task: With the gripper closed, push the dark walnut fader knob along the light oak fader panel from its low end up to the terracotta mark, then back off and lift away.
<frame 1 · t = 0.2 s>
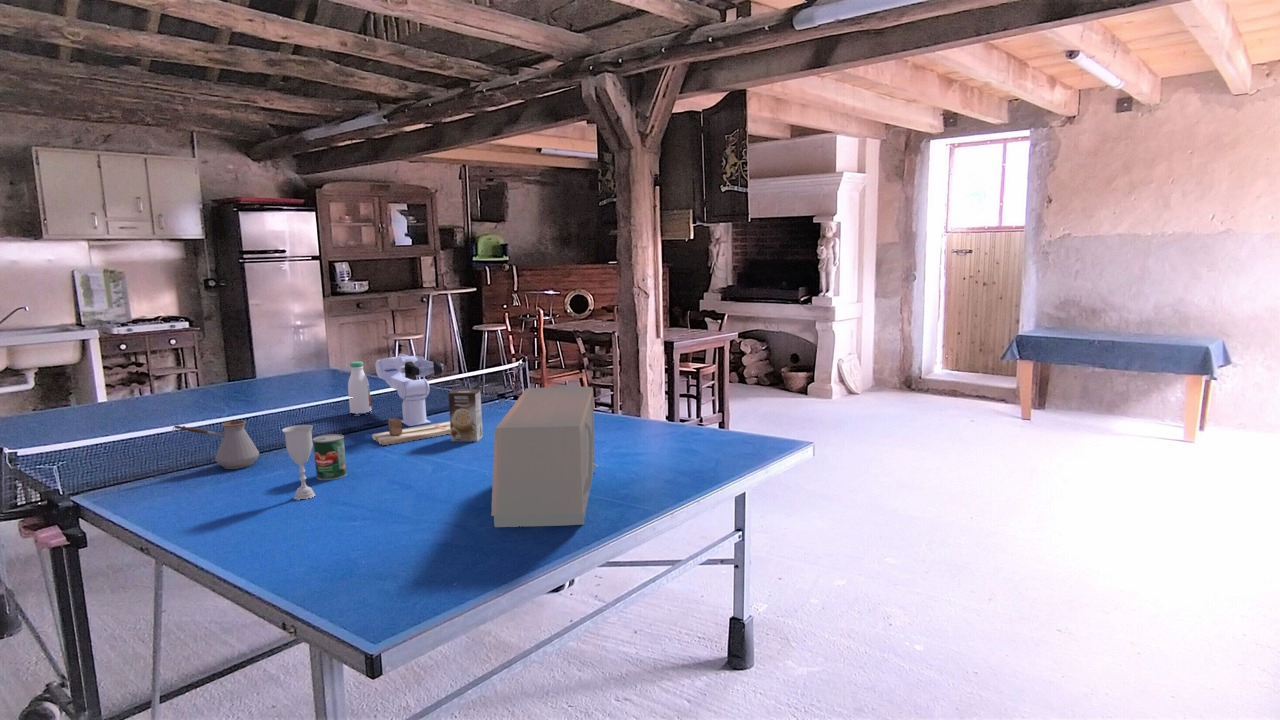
hand: (429, 370, 248), 22 cm above the table, tool horizontal, fingers open, 7 cm apart
vintage radio: (551, 497, 186), on the table
fader panel: (420, 434, 250), on the table
chalice: (304, 497, 190), on the table
milk bottle: (361, 414, 285), on the table
canned tomato: (332, 476, 207), on the table
coffee box: (467, 439, 243), on the table
coffee pot: (220, 469, 217), on the table
fader knob: (395, 426, 245), point 4 cm above the table, slide at 0.0 cm
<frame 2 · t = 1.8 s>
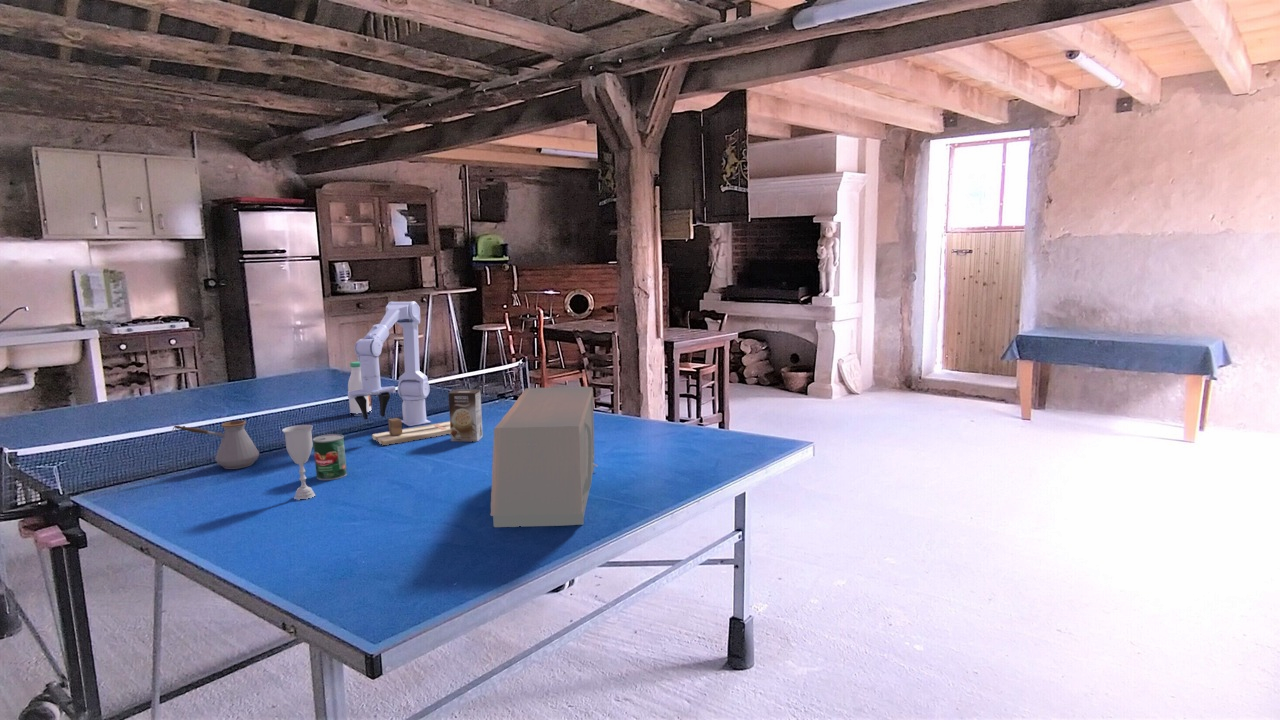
hand: (374, 417, 240), 8 cm above the table, tool pointing down, fingers open, 5 cm apart
nothing on the table moved.
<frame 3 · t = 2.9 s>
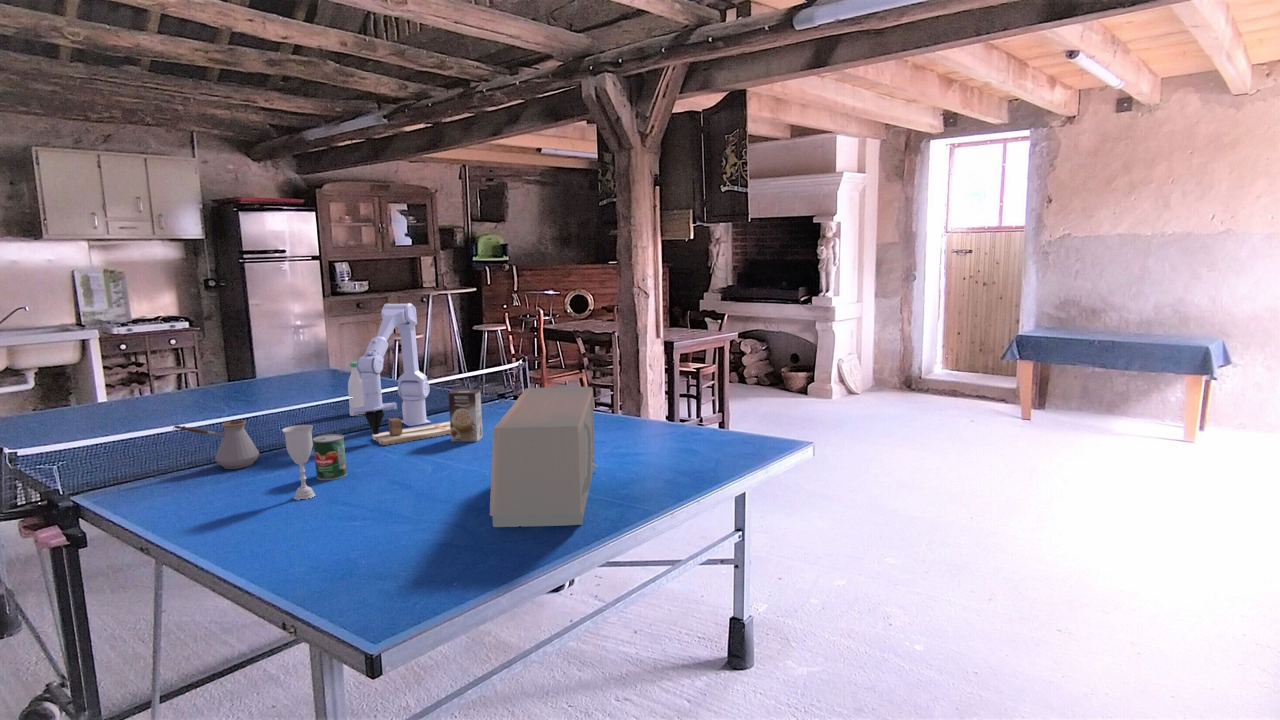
hand: (375, 433, 241), 3 cm above the table, tool pointing down, fingers closed
nothing on the table moved.
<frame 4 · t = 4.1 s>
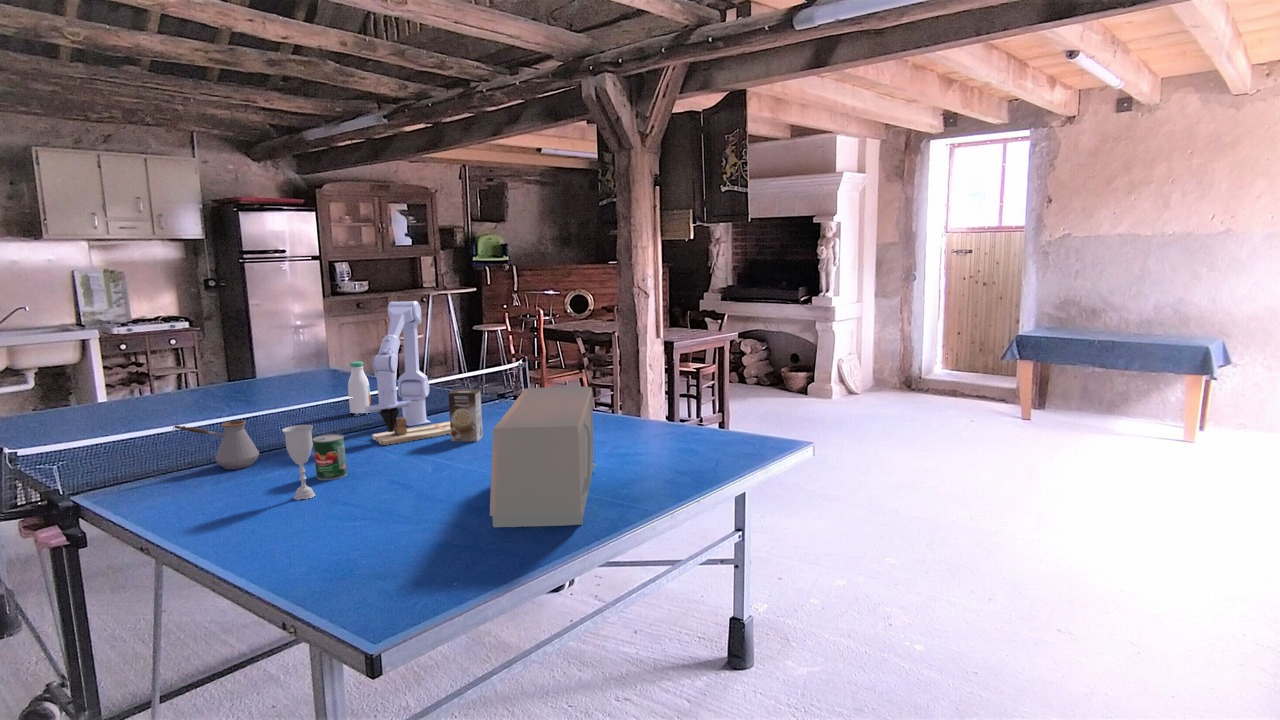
hand: (390, 431, 244), 3 cm above the table, tool pointing down, fingers closed
fader knob: (400, 425, 246), point 4 cm above the table, slide at 1.6 cm, touching gripper
everything else where it was.
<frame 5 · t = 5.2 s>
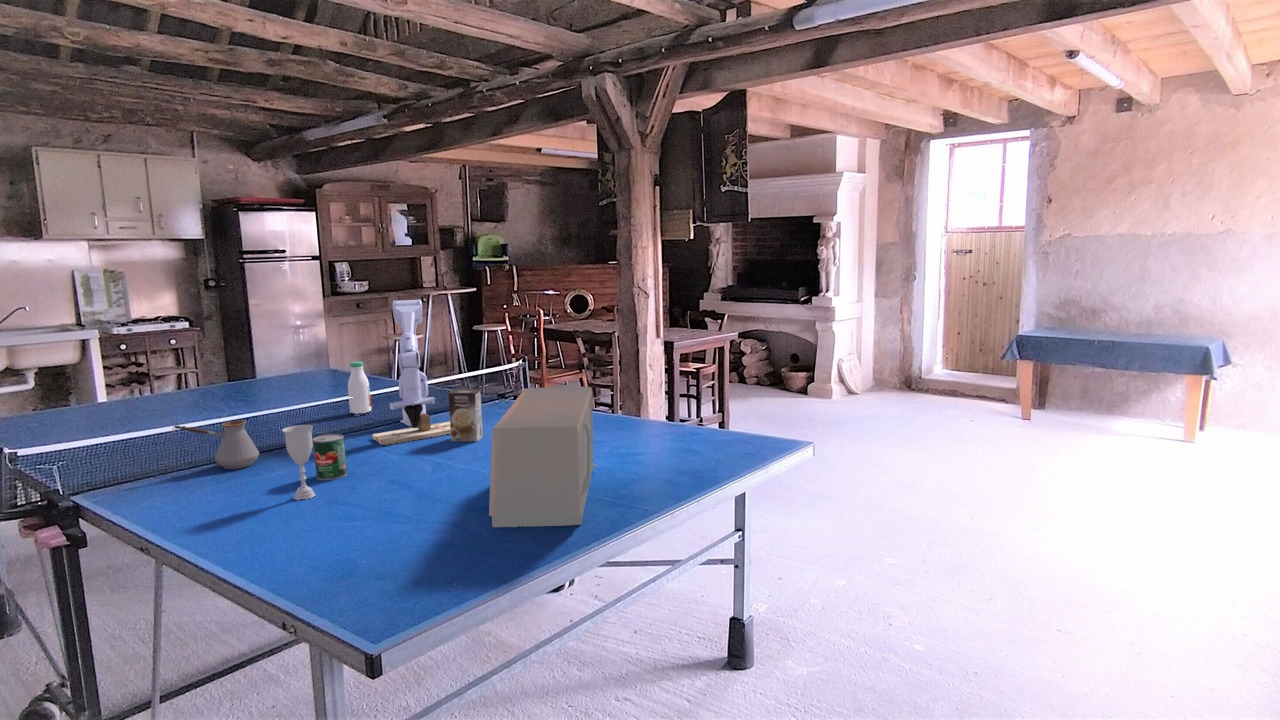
hand: (414, 427, 249), 3 cm above the table, tool pointing down, fingers closed
fader knob: (423, 422, 250), point 4 cm above the table, slide at 9.6 cm, touching gripper
everything else where it was.
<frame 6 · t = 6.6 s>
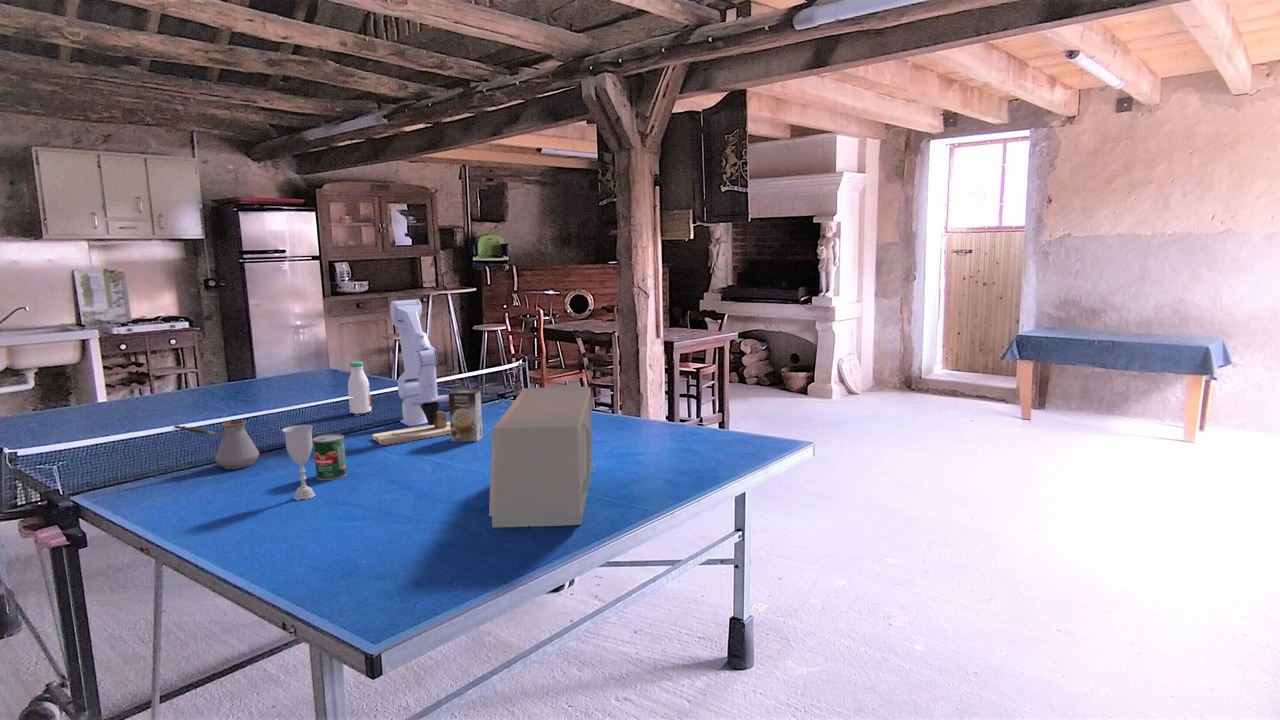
hand: (431, 424, 252), 3 cm above the table, tool pointing down, fingers closed
fader knob: (439, 419, 253), point 4 cm above the table, slide at 15.2 cm, touching gripper
everything else where it was.
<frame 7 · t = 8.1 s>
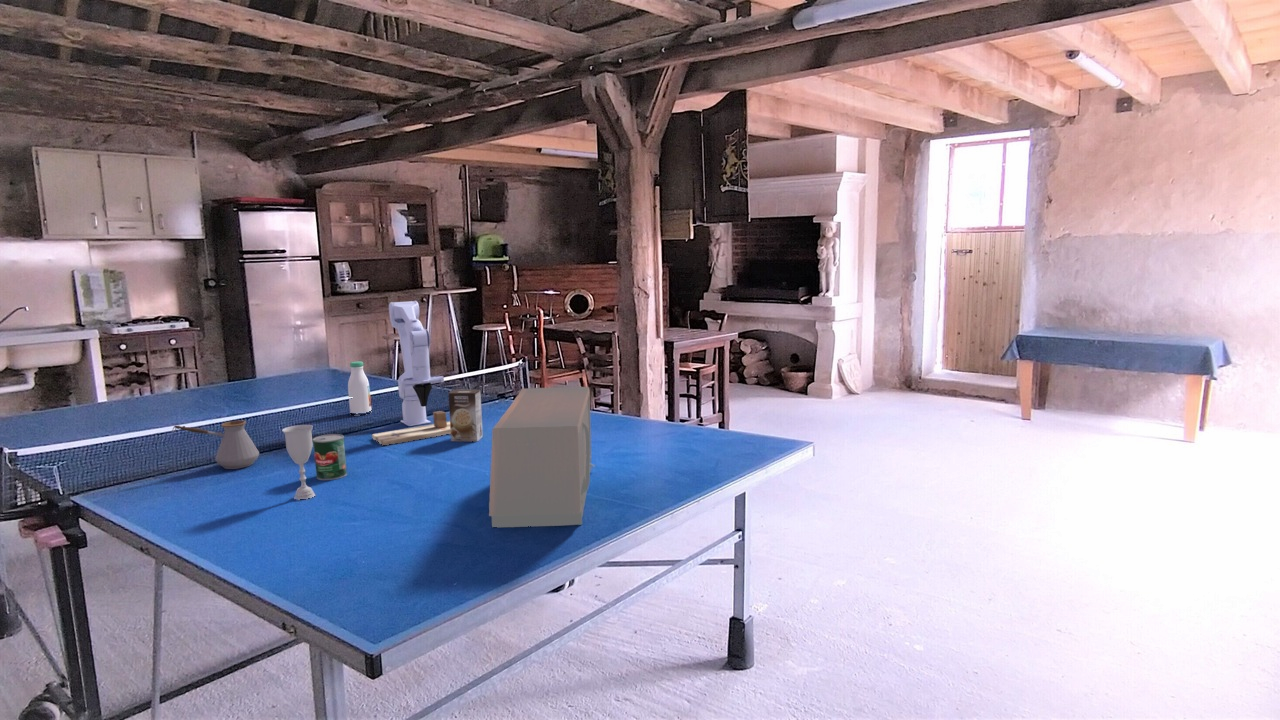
hand: (423, 405, 251), 9 cm above the table, tool pointing down, fingers closed
fader knob: (439, 419, 253), point 4 cm above the table, slide at 15.2 cm
everything else where it was.
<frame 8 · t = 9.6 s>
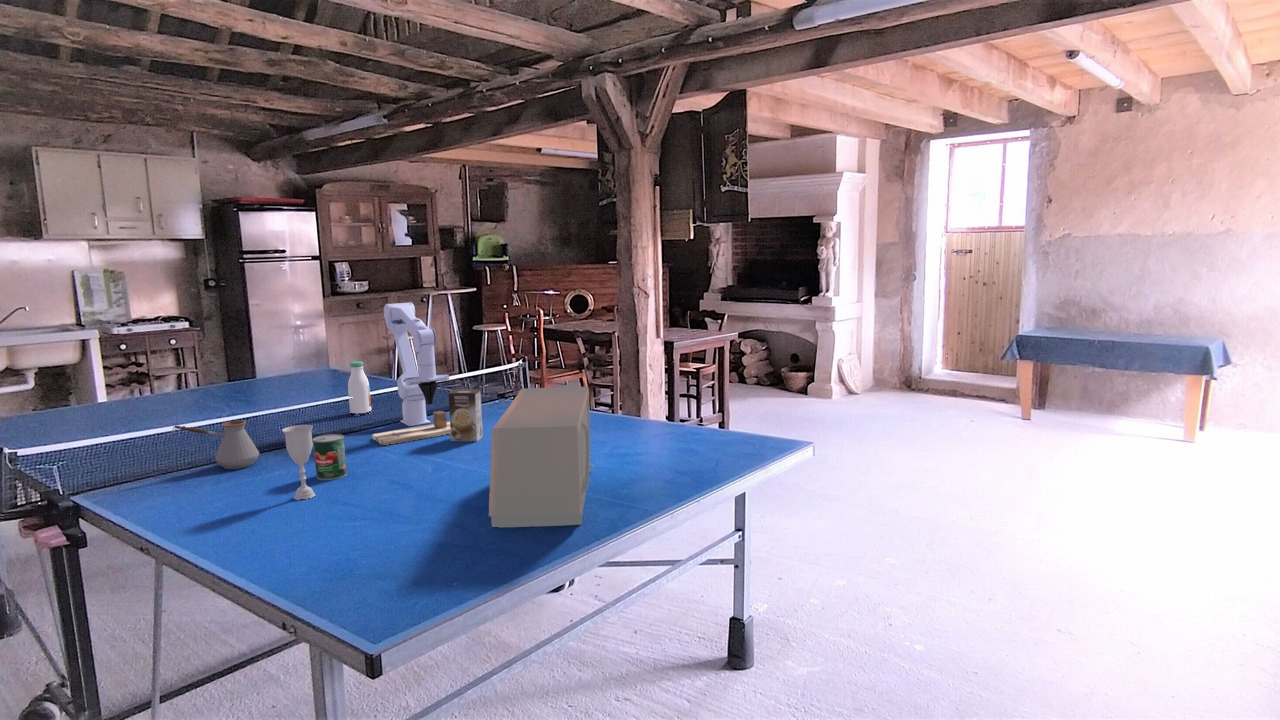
hand: (429, 403, 254), 9 cm above the table, tool pointing down, fingers closed
nothing on the table moved.
at the end: fader knob slide at 15.2 cm; coffee box moved 0.2 cm from its start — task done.
